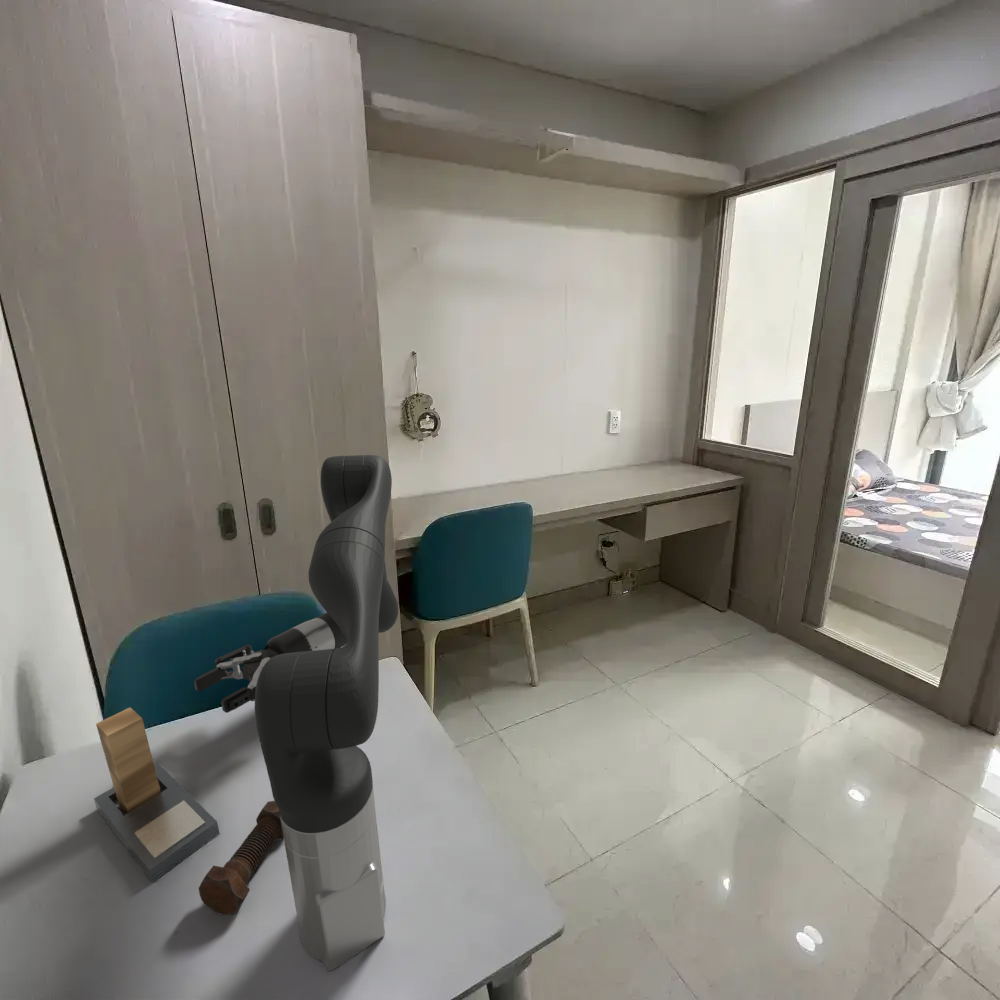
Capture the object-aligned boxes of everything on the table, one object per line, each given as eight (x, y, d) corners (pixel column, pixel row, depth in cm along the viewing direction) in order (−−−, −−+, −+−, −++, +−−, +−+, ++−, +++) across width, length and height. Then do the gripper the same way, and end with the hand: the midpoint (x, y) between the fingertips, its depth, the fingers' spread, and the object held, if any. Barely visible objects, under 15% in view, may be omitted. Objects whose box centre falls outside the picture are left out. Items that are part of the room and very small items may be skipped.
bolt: (302, 816, 73) (228, 925, 58) (273, 796, 73) (192, 900, 59) (318, 789, 71) (245, 895, 57) (287, 769, 71) (207, 870, 57)
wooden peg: (163, 800, 73) (142, 718, 69) (131, 821, 70) (107, 735, 66) (150, 787, 75) (130, 707, 72) (119, 806, 72) (95, 723, 68)
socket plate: (219, 833, 68) (216, 820, 67) (152, 882, 62) (149, 868, 61) (159, 772, 78) (156, 760, 78) (97, 809, 72) (93, 797, 71)
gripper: (275, 616, 94) (182, 659, 82) (324, 640, 86) (228, 692, 74) (281, 652, 96) (191, 699, 84) (329, 678, 89) (237, 735, 76)
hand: (208, 696), depth 79 cm, fingers open, 8 cm apart
